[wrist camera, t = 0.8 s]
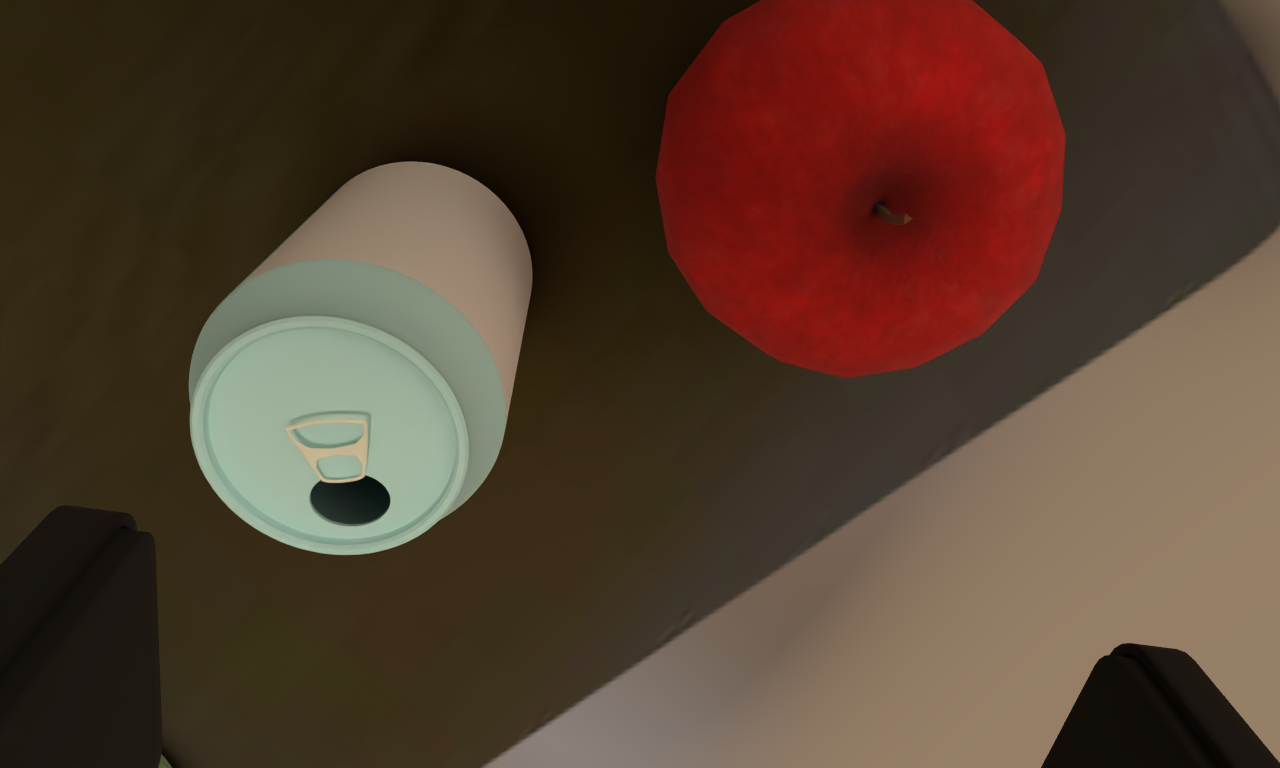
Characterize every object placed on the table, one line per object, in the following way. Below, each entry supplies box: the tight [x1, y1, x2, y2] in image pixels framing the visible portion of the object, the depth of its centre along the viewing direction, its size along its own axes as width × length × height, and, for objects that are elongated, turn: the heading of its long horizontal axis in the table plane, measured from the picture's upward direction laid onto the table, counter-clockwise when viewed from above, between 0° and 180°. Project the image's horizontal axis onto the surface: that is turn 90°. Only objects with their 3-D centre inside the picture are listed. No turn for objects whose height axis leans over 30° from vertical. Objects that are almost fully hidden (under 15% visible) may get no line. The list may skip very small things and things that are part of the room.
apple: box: [655, 0, 1066, 378], centre depth 24 cm, size 10×10×11 cm
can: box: [189, 161, 532, 555], centre depth 25 cm, size 7×7×12 cm
